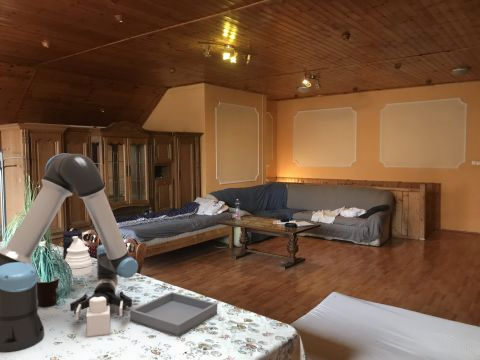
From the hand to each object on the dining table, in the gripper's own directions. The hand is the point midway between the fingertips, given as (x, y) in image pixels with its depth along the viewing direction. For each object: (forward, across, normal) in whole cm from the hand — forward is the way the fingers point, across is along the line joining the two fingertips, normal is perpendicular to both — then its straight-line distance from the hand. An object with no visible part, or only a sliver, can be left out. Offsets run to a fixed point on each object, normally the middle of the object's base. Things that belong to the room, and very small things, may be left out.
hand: (99, 314), depth 130 cm
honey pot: (-71, +17, -7) cm, 73 cm away
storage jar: (-96, +23, -7) cm, 99 cm away
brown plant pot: (-31, +21, -7) cm, 39 cm away
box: (-7, -25, -6) cm, 27 cm away
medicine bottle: (-1, 0, -7) cm, 7 cm away
